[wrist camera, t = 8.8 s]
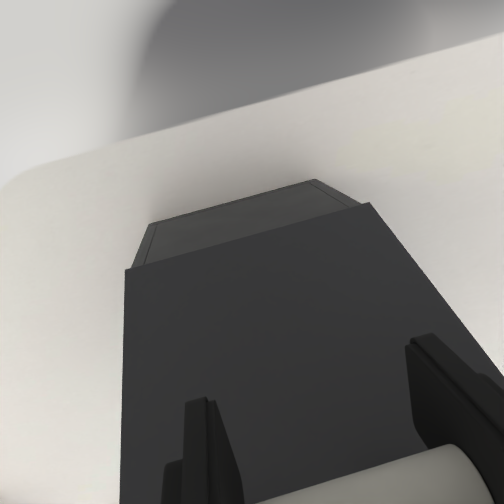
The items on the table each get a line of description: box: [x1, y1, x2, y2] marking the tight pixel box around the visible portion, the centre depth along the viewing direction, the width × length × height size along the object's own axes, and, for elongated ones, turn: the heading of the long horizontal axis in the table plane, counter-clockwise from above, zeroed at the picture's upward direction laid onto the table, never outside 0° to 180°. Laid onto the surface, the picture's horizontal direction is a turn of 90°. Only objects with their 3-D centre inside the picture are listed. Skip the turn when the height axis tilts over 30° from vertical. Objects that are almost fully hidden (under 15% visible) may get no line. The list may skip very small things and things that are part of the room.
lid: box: [119, 202, 504, 504], centre depth 14 cm, size 16×14×5 cm
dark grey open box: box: [131, 179, 361, 268], centre depth 29 cm, size 16×14×10 cm
